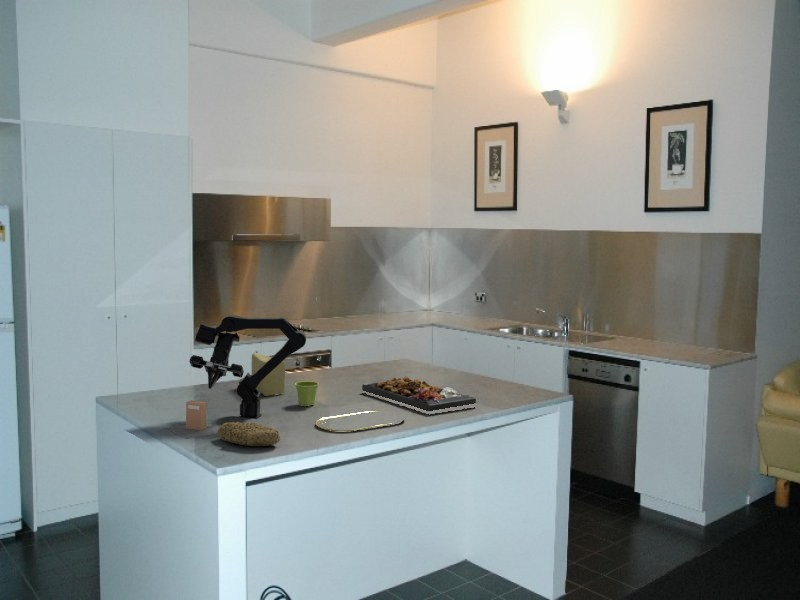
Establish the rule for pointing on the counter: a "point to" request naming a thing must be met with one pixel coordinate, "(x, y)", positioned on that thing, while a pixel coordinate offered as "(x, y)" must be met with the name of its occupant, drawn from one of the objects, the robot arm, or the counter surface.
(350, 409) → the counter surface
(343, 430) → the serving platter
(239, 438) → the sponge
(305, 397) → the plant pot
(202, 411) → the card box
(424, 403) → the food platter
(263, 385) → the cheese
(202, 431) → the mat
